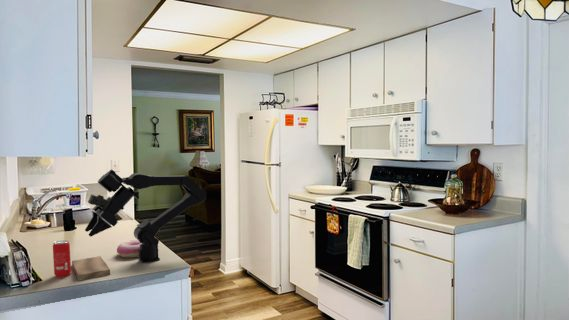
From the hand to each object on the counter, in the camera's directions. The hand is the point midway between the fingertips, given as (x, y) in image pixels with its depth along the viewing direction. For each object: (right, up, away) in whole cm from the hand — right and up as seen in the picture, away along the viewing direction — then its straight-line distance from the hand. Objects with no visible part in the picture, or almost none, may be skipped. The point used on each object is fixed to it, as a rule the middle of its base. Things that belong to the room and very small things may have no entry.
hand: (87, 233), depth 146 cm
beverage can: (-7, -14, -4) cm, 16 cm away
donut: (+9, -13, +21) cm, 26 cm away
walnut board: (0, -14, +2) cm, 14 cm away
